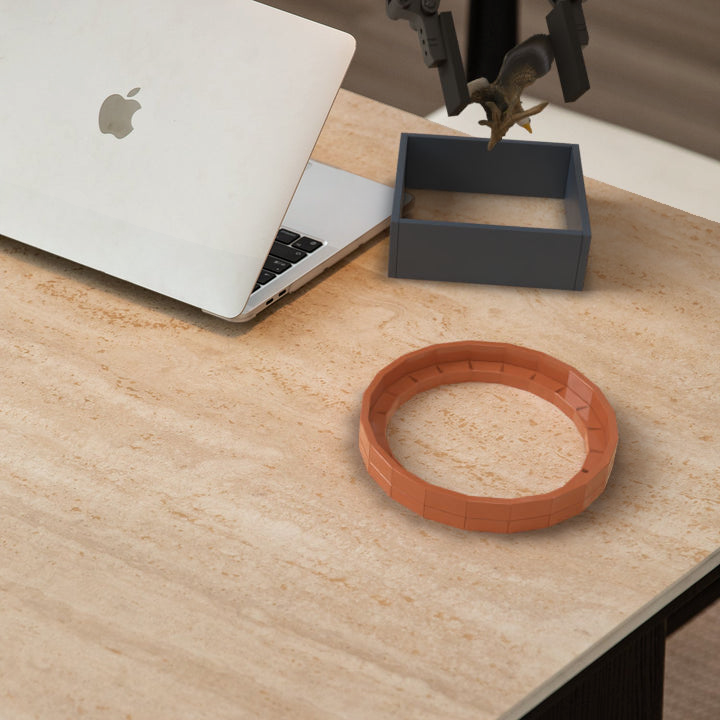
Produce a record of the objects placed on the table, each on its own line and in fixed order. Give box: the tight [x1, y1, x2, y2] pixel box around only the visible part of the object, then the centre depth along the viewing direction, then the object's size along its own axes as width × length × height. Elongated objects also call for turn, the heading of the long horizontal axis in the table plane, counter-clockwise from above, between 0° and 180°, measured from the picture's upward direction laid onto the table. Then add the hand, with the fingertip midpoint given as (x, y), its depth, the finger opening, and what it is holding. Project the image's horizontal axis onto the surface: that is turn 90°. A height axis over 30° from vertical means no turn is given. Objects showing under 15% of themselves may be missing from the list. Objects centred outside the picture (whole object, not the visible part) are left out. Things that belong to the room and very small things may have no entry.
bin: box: [387, 132, 593, 292], centre depth 95 cm, size 14×14×6 cm
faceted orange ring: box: [358, 339, 620, 534], centre depth 76 cm, size 15×15×3 cm
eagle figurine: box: [467, 32, 555, 150], centre depth 89 cm, size 8×7×9 cm
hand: (519, 102), depth 86 cm, fingers closed on eagle figurine, 8 cm apart
